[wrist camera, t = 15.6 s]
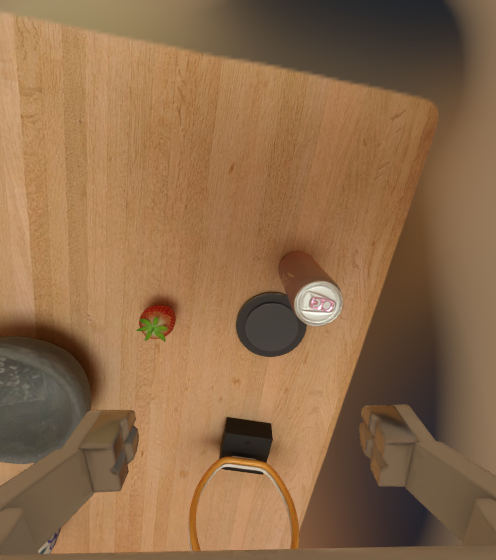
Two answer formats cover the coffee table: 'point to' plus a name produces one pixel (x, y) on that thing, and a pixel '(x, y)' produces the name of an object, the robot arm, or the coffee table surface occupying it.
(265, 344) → the saucer
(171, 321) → the fruit
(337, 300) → the beverage can
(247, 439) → the lamp
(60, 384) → the bowl
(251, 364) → the coffee table surface
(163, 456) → the coffee table surface
